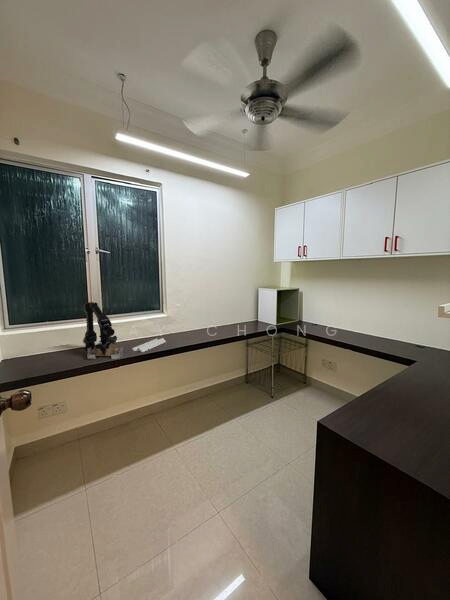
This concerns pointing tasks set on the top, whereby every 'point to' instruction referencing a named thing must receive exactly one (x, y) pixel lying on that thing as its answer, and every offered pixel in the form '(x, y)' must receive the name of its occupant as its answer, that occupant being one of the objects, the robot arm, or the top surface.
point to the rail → (107, 352)
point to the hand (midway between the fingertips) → (105, 353)
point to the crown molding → (149, 345)
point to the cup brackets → (113, 356)
